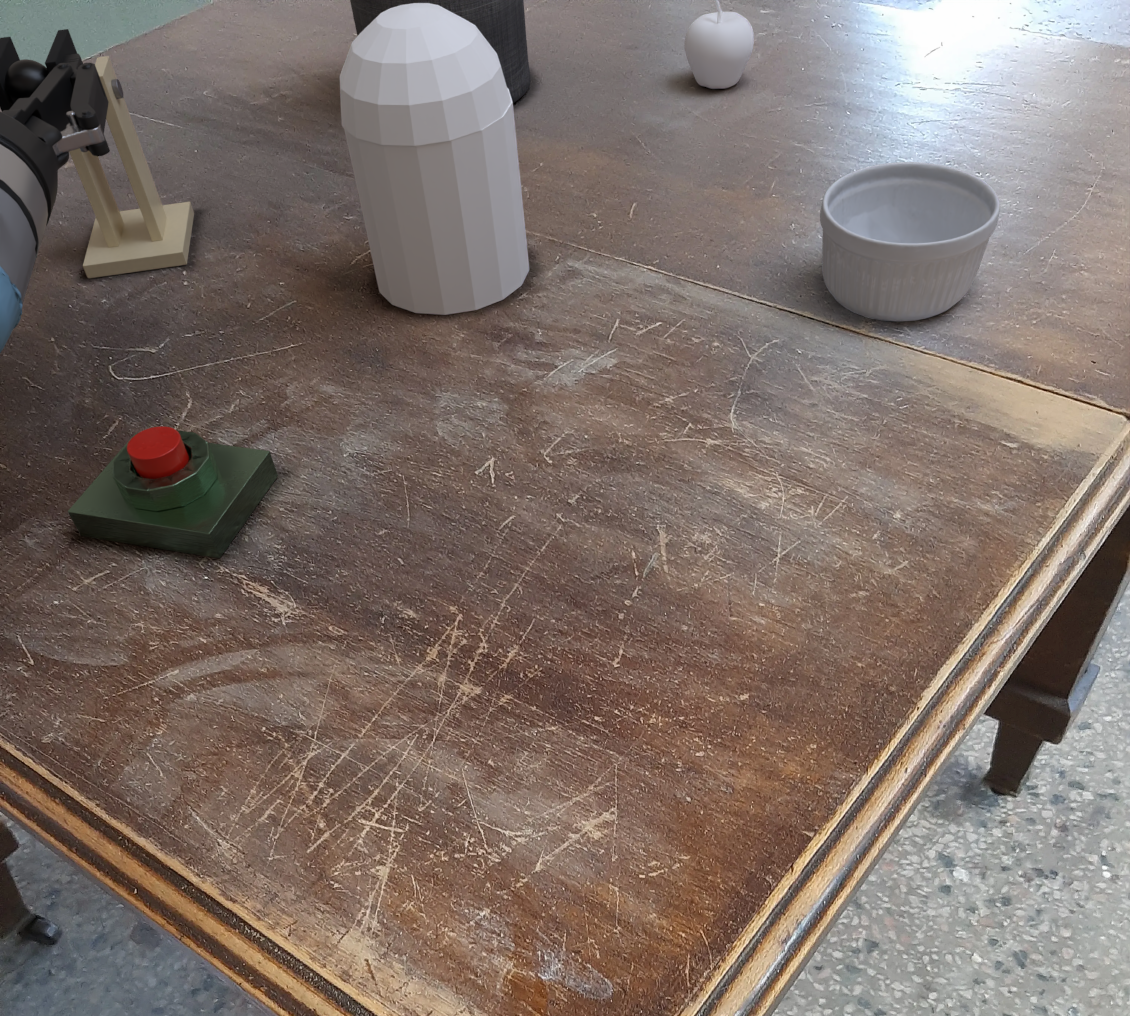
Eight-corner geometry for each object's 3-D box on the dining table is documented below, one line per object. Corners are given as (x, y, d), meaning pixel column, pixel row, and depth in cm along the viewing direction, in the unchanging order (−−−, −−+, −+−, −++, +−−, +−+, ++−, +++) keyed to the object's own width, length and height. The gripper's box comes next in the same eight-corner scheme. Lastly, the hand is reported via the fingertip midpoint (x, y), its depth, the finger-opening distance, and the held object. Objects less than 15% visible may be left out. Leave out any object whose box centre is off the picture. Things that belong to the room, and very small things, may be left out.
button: (126, 476, 73) (116, 455, 72) (153, 444, 75) (143, 423, 74) (172, 483, 72) (163, 461, 71) (198, 450, 74) (189, 429, 73)
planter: (337, 97, 119) (300, -77, 107) (462, 46, 126) (440, -123, 114) (436, 141, 111) (407, -43, 98) (564, 83, 117) (553, -95, 105)
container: (485, 326, 88) (446, 51, 72) (346, 300, 92) (282, 34, 77) (554, 247, 95) (533, -20, 80) (423, 226, 100) (379, -31, 84)
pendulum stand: (187, 264, 98) (123, 85, 87) (87, 278, 98) (10, 100, 86) (194, 213, 104) (136, 40, 93) (101, 226, 104) (30, 54, 92)
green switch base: (80, 536, 75) (55, 489, 72) (146, 457, 80) (125, 411, 77) (219, 558, 73) (199, 511, 70) (278, 476, 78) (262, 428, 75)
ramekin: (891, 352, 82) (908, 262, 76) (777, 283, 89) (785, 197, 84) (1015, 291, 86) (1039, 203, 80) (896, 230, 93) (911, 145, 88)
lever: (58, 113, 78) (40, 54, 76) (8, 120, 78) (-11, 61, 76) (117, 114, 93) (103, 65, 91) (75, 120, 93) (60, 71, 91)
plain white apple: (682, 71, 117) (684, -15, 111) (749, 67, 116) (754, -20, 110) (684, 98, 113) (686, 10, 106) (753, 94, 112) (759, 5, 106)
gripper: (-117, 269, 70) (-43, 121, 85) (140, 234, 71) (169, 92, 85) (-188, 148, 64) (-96, 10, 79) (92, 110, 65) (133, -19, 79)
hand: (42, 53), depth 82 cm, fingers closed on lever, 4 cm apart
